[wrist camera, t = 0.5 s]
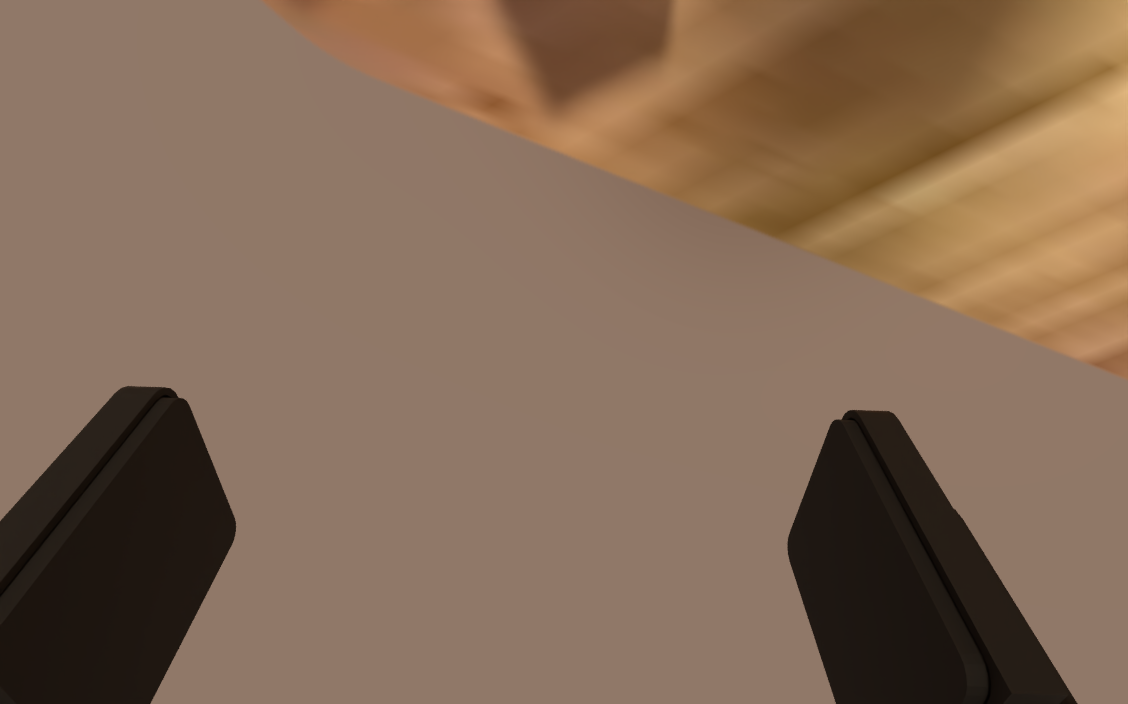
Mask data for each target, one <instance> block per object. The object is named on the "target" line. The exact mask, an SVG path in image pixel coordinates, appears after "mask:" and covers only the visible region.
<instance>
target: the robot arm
mask: <svg viewBox="0 0 1128 704" xmlns="http://www.w3.org/2000/svg"><path fill="white" fill-rule="evenodd" d="M235 532H236V521H235V518H234V515H233V513H232V510H231V508H230V505H229V503H228V500H227V498H226V495H225V493H224V490H223V488H222V485H221V483H220V480H219V478H218V476H217V473H216V470H215V468H214V466H213V463H212V460H211V458H210V456H209V453H208V451H207V448H206V446H205V443H204V441H203V438H202V436H201V433H200V431H199V428H198V426H197V423H196V421H195V418H194V416H193V413H192V411H191V408H190V406H189V404H188V402H187V401H186V400H184V399H182V398H178V396H177V394H176V393H175V392H174V391H173V390H172V389H171V388H165V387H163V388H162V387H135V386H127V387H123V388H121V389H120V390H118V391H117V392H116V393H115V394H114V395H113V396H112V397H111V398H110V399H109V401H108V402H107V403H106V404H105V405H104V406H103V407H102V408H101V410H100V411H99V412H98V413H97V414H96V415H95V416H94V417H93V418H92V420H91V421H90V422H89V423H88V424H87V425H86V426H85V427H84V428H83V430H82V431H81V432H80V433H79V434H78V435H77V436H76V438H74V440H73V441H72V442H71V443H70V444H69V445H68V446H67V447H66V449H65V450H64V451H63V452H62V453H61V454H60V455H59V456H58V457H57V459H56V460H55V461H54V462H53V463H52V464H51V465H50V466H49V467H48V469H47V470H46V471H45V472H44V473H43V474H42V475H41V476H40V477H39V479H38V480H37V481H36V482H35V483H34V484H33V485H32V486H31V488H30V489H29V490H28V491H27V492H26V493H25V494H24V495H23V497H22V498H21V499H20V500H19V501H18V502H17V503H16V504H15V505H14V507H13V508H12V509H11V510H10V511H9V512H8V513H7V514H6V515H5V517H4V518H3V519H2V520H1V521H0V704H150V703H151V701H152V699H153V697H154V695H155V693H156V692H157V690H158V688H159V686H160V684H161V682H162V680H163V678H164V676H165V674H166V672H167V670H168V668H169V666H170V664H171V662H172V660H173V658H174V656H175V655H176V652H177V651H178V649H179V647H180V645H181V643H182V641H183V639H184V637H185V635H186V633H187V631H188V629H189V627H190V625H191V623H192V621H193V620H194V618H195V616H196V614H197V612H198V610H199V608H200V606H201V604H202V602H203V600H204V598H205V596H206V594H207V592H208V590H209V588H210V586H211V584H212V582H213V580H214V579H215V577H216V575H217V573H218V571H219V569H220V567H221V565H222V563H223V561H224V559H225V557H226V555H227V553H228V551H229V549H230V547H231V545H232V543H233V541H234V537H235ZM788 555H789V560H790V564H791V567H792V570H793V573H794V576H795V579H796V582H797V585H798V588H799V591H800V594H801V597H802V600H803V604H804V606H805V610H806V613H807V616H808V619H809V622H810V625H811V628H812V631H813V634H814V637H815V640H816V643H817V647H818V650H819V653H820V656H821V659H822V662H823V665H824V668H825V671H826V674H827V677H828V680H829V683H830V686H831V689H832V692H833V696H834V699H835V702H836V704H1077V703H1076V701H1075V699H1074V697H1073V696H1072V694H1071V693H1070V691H1069V690H1068V688H1067V686H1066V685H1065V683H1064V681H1063V680H1062V678H1061V677H1060V675H1059V673H1058V672H1057V670H1056V668H1055V667H1054V665H1053V664H1052V662H1051V660H1050V659H1049V657H1048V656H1047V654H1046V652H1045V651H1044V649H1043V647H1042V646H1041V644H1040V643H1039V641H1038V639H1037V638H1036V636H1035V635H1034V633H1033V631H1032V630H1031V628H1030V627H1029V625H1028V623H1027V622H1026V620H1025V618H1024V617H1023V615H1022V614H1021V612H1020V610H1019V609H1018V607H1017V606H1016V604H1015V603H1014V601H1013V599H1012V598H1011V596H1010V594H1009V593H1008V591H1007V590H1006V588H1005V587H1004V585H1003V583H1002V581H1001V580H1000V578H999V577H998V575H997V573H996V572H995V570H994V569H993V567H992V565H991V564H990V562H989V561H988V559H987V558H986V556H985V554H984V552H983V551H982V549H981V548H980V546H979V545H978V543H977V541H976V540H975V538H974V536H973V535H972V533H971V532H970V530H969V529H968V527H967V525H966V523H965V522H964V520H963V519H962V518H961V516H960V515H959V514H958V513H957V511H956V510H955V509H953V507H952V506H951V504H950V502H949V501H948V499H947V497H946V496H945V494H944V493H943V491H942V489H941V488H940V486H939V484H938V483H937V481H936V480H935V478H934V476H933V475H932V473H931V471H930V470H929V468H928V467H927V465H926V463H925V462H924V460H923V459H922V457H921V455H920V454H919V452H918V450H917V449H916V447H915V445H914V444H913V442H912V441H911V439H910V438H909V436H908V434H907V433H906V431H905V430H904V428H903V426H902V424H901V423H900V421H899V420H898V418H897V417H896V416H895V415H894V414H893V413H891V412H889V411H863V410H850V411H848V412H847V413H845V414H844V416H843V418H842V420H834V421H833V422H832V424H831V425H830V428H829V430H828V433H827V436H826V438H825V441H824V444H823V446H822V449H821V452H820V454H819V457H818V459H817V462H816V465H815V467H814V470H813V473H812V476H811V478H810V481H809V483H808V486H807V489H806V491H805V494H804V497H803V499H802V502H801V504H800V507H799V510H798V513H797V515H796V518H795V520H794V523H793V526H792V528H791V531H790V534H789V537H788Z"/></svg>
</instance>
